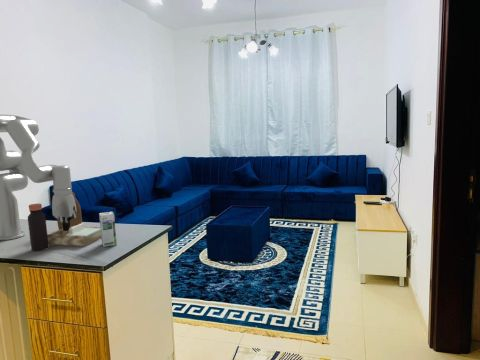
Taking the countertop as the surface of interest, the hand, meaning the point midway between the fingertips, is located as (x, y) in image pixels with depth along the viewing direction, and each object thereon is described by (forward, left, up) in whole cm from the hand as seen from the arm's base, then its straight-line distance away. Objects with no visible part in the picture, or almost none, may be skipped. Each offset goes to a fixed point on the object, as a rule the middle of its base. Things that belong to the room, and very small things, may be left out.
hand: (66, 230), depth 175 cm
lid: (+9, 0, -1) cm, 9 cm away
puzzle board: (+3, 0, -5) cm, 6 cm away
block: (-10, +15, -5) cm, 19 cm away
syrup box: (+24, -3, -5) cm, 25 cm away
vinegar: (-4, -13, -5) cm, 14 cm away
